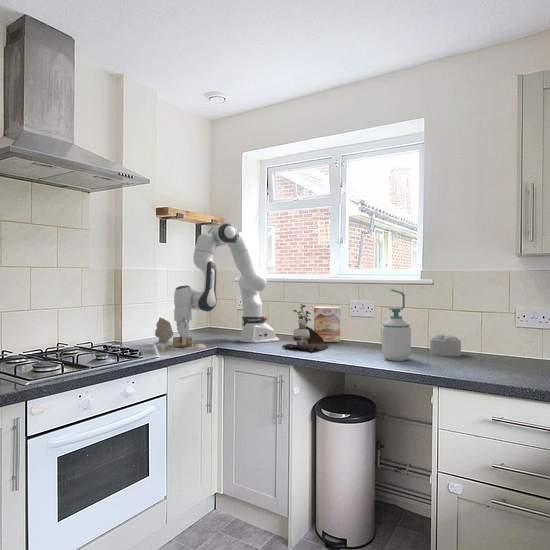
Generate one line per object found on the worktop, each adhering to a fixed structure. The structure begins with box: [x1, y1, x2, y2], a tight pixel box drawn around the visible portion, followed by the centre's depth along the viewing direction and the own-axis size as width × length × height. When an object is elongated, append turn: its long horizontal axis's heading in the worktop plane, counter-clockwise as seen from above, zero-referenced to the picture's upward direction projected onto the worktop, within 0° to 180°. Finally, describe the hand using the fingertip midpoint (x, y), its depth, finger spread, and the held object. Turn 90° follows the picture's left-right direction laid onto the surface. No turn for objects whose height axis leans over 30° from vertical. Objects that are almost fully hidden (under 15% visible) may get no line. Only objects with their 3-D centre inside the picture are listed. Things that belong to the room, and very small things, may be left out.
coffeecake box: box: [313, 306, 342, 343], centre depth 242 cm, size 15×7×20 cm, turn 80°
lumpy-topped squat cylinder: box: [429, 334, 462, 357], centre depth 199 cm, size 10×13×9 cm
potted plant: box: [281, 303, 330, 352], centre depth 221 cm, size 20×19×25 cm
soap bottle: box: [381, 288, 412, 362], centre depth 188 cm, size 12×12×31 cm
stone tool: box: [154, 316, 174, 343], centre depth 234 cm, size 11×4×15 cm, turn 77°
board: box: [160, 343, 207, 351], centre depth 218 cm, size 22×13×1 cm, turn 109°
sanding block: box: [172, 335, 193, 347], centre depth 218 cm, size 9×5×4 cm, turn 109°
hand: (183, 343), depth 218 cm, fingers closed on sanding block, 5 cm apart
